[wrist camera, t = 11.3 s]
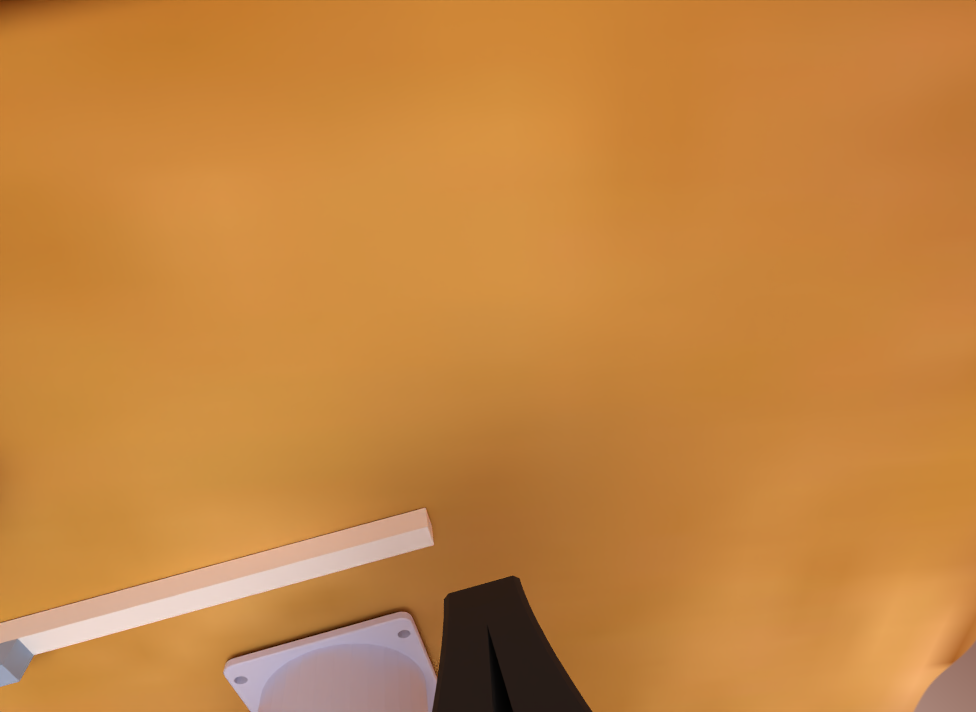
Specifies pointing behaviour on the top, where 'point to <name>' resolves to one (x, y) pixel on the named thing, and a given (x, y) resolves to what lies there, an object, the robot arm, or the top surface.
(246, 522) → the top surface
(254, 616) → the top surface
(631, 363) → the top surface
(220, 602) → the white flat piece
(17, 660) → the bracket
